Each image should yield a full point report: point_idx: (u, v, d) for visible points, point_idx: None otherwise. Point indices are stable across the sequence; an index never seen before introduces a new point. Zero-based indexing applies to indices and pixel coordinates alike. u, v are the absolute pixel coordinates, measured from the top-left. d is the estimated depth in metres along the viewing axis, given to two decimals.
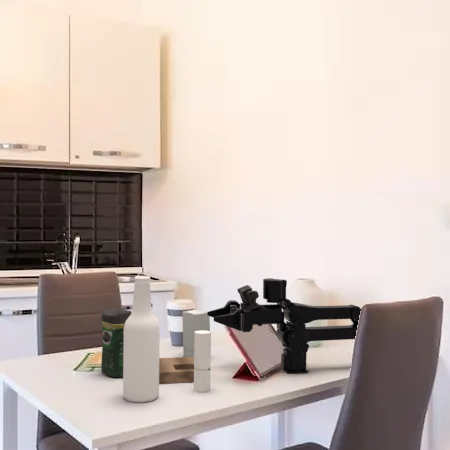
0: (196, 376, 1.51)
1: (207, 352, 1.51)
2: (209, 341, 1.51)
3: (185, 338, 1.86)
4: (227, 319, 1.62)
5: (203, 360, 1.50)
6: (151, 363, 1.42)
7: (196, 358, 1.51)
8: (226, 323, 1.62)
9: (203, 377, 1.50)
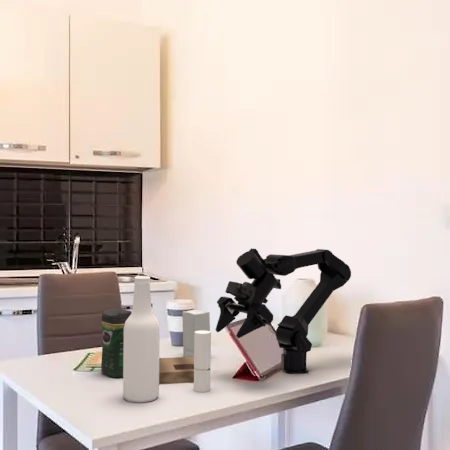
0: (196, 376, 1.51)
1: (207, 352, 1.51)
2: (209, 341, 1.51)
3: (185, 338, 1.86)
4: (248, 326, 1.54)
5: (203, 360, 1.50)
6: (151, 363, 1.42)
7: (196, 358, 1.51)
8: (249, 330, 1.54)
9: (203, 377, 1.50)
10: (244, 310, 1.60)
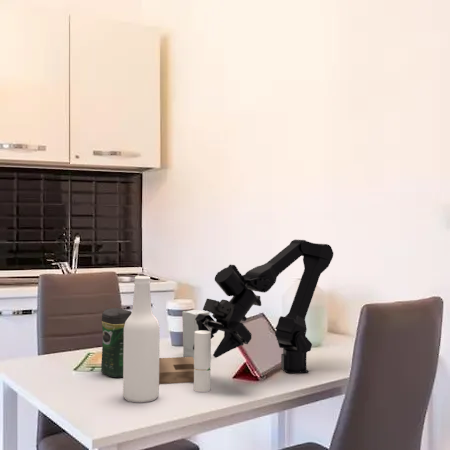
0: (196, 376, 1.51)
1: (207, 352, 1.51)
2: (209, 341, 1.51)
3: (185, 338, 1.86)
4: (225, 346, 1.49)
5: (203, 360, 1.50)
6: (151, 363, 1.42)
7: (196, 358, 1.51)
8: (226, 349, 1.50)
9: (203, 377, 1.50)
10: (222, 328, 1.55)
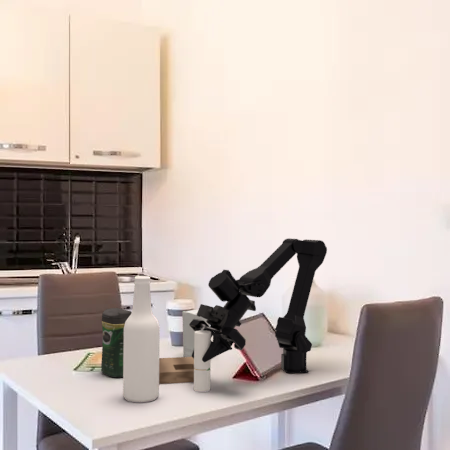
0: (196, 376, 1.51)
1: None
2: (209, 341, 1.51)
3: (185, 338, 1.86)
4: (214, 350, 1.50)
5: None
6: (151, 363, 1.42)
7: (196, 358, 1.51)
8: (215, 354, 1.50)
9: (203, 377, 1.50)
10: (211, 332, 1.56)
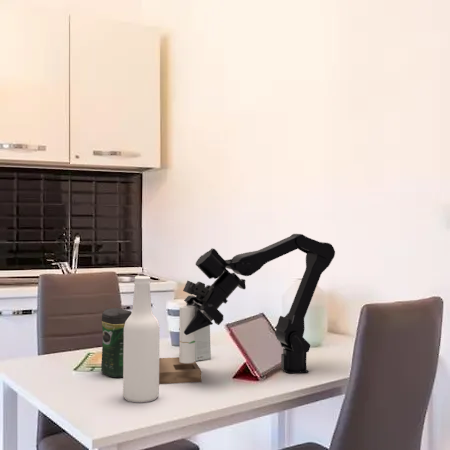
0: (180, 348, 1.60)
1: None
2: (192, 315, 1.59)
3: None
4: (195, 324, 1.58)
5: None
6: (151, 363, 1.42)
7: (180, 331, 1.60)
8: (197, 328, 1.58)
9: (185, 349, 1.59)
10: (199, 308, 1.63)
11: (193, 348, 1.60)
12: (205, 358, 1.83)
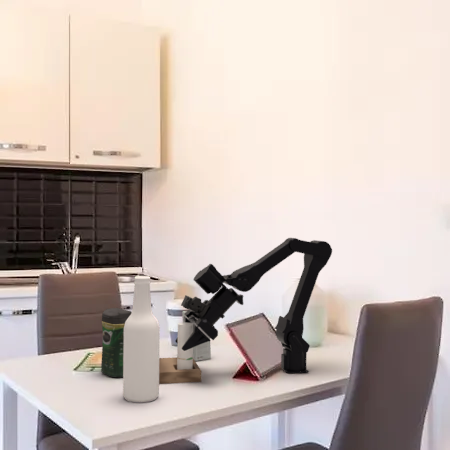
0: (177, 364, 1.63)
1: None
2: (189, 333, 1.62)
3: None
4: (193, 340, 1.58)
5: None
6: (151, 363, 1.42)
7: (178, 347, 1.62)
8: (194, 344, 1.58)
9: (182, 366, 1.61)
10: None
11: (190, 365, 1.62)
12: (205, 358, 1.83)
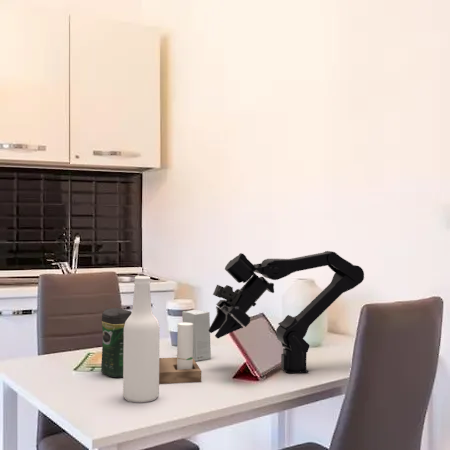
0: (177, 364, 1.63)
1: (187, 343, 1.61)
2: (189, 333, 1.62)
3: None
4: (226, 328, 1.61)
5: (183, 350, 1.61)
6: (151, 363, 1.42)
7: (177, 347, 1.62)
8: (227, 331, 1.61)
9: (182, 366, 1.61)
10: None
11: (190, 365, 1.62)
12: (205, 358, 1.83)
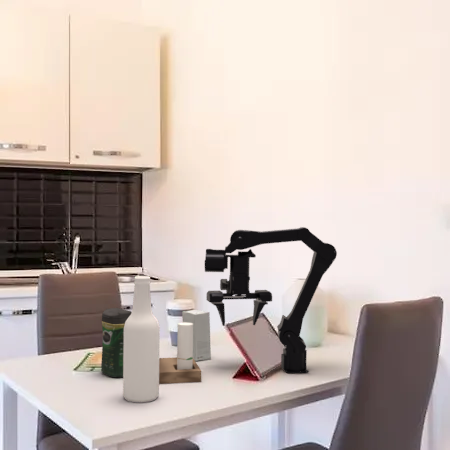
0: (177, 364, 1.63)
1: (187, 343, 1.61)
2: (189, 333, 1.62)
3: None
4: (219, 313, 1.71)
5: (183, 350, 1.61)
6: (151, 363, 1.42)
7: (177, 347, 1.62)
8: (220, 315, 1.70)
9: (182, 366, 1.61)
10: None
11: (190, 365, 1.62)
12: (205, 358, 1.83)
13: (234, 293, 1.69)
